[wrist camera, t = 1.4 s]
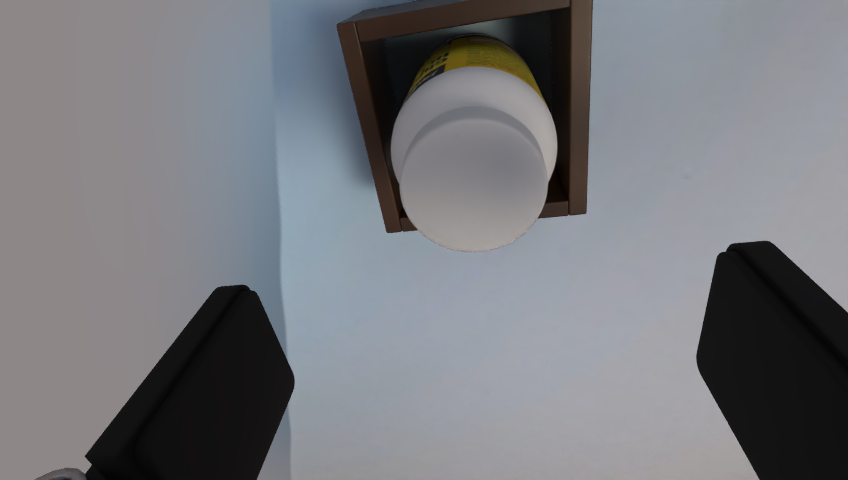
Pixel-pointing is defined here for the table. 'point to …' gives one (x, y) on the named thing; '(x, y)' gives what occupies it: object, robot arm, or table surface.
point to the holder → (455, 6)
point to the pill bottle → (473, 145)
